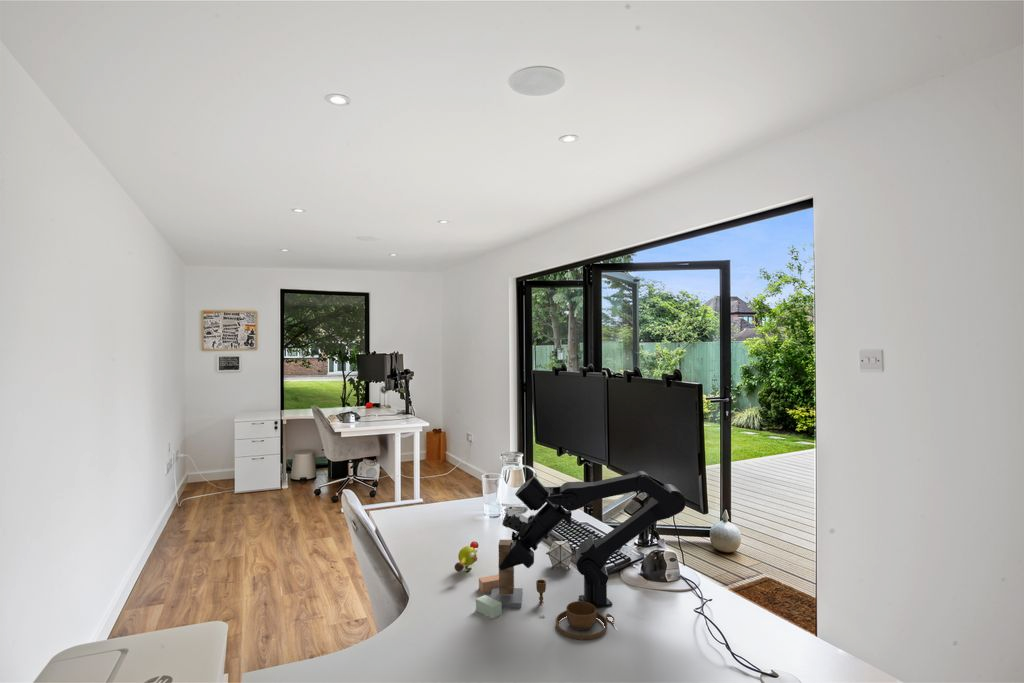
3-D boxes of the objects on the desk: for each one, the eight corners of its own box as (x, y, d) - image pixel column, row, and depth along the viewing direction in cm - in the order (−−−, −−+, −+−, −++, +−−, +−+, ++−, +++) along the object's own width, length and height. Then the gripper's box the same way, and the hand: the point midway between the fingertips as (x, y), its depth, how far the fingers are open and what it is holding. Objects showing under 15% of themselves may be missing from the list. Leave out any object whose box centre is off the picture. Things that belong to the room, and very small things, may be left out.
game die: (564, 577, 163) (582, 547, 166) (564, 579, 155) (583, 547, 158) (539, 559, 166) (556, 530, 168) (537, 560, 158) (556, 529, 160)
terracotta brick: (499, 585, 151) (499, 574, 151) (503, 589, 148) (503, 578, 148) (478, 589, 149) (478, 578, 149) (482, 593, 146) (482, 582, 146)
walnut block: (514, 587, 144) (513, 539, 144) (513, 594, 140) (512, 545, 140) (500, 587, 144) (499, 539, 144) (499, 594, 140) (498, 544, 140)
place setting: (548, 646, 122) (548, 619, 122) (532, 602, 142) (532, 579, 142) (625, 639, 124) (625, 613, 124) (598, 597, 144) (598, 574, 144)
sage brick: (501, 614, 135) (501, 602, 135) (492, 619, 133) (492, 607, 133) (484, 606, 139) (484, 594, 139) (475, 610, 137) (475, 598, 137)
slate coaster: (522, 592, 146) (522, 588, 146) (521, 607, 138) (521, 603, 138) (492, 592, 146) (492, 587, 146) (489, 607, 138) (489, 602, 138)
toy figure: (468, 585, 151) (468, 560, 151) (449, 583, 152) (448, 558, 152) (485, 558, 168) (484, 536, 168) (467, 557, 169) (467, 535, 169)
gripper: (522, 490, 151) (482, 530, 152) (519, 512, 132) (473, 557, 133) (551, 519, 151) (511, 559, 151) (552, 545, 132) (507, 590, 133)
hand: (501, 565), depth 142 cm, fingers closed on walnut block, 4 cm apart
